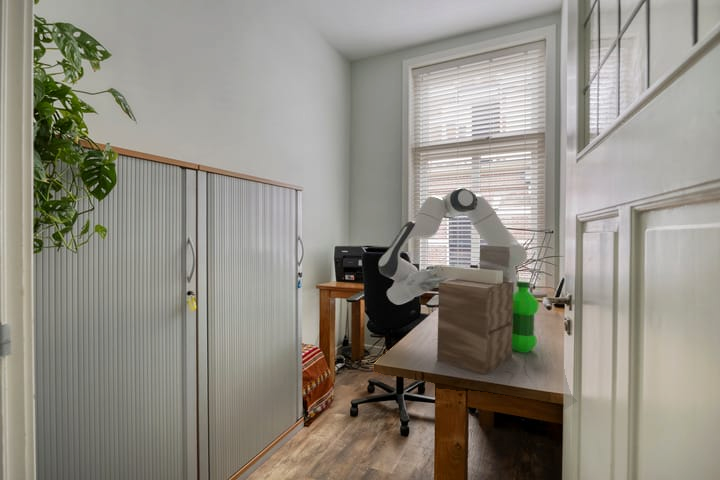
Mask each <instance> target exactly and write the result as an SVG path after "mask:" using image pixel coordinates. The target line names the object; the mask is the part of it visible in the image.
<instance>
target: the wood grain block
mask: <svg viewBox="0 0 720 480" xmlns="http://www.w3.org/2000/svg"><path fill="white" fill-rule="evenodd" d="M478 267H479V268H478V269H489V270H499V271H503V283H499V284H492V283H484V282H476V281H468V280H460V279H449V280H448V279H447V280H445V281H443V282H439V284H438V301H437V303H438V304H437V305H438V306H437V309H438V311H437V349H436V352H437V353H436V357H437V358H436V361H437V362H439V363H444V364H447V365H450V366H453V367H457V368H460V369H463V370H466V371H469V372H473V373H476V374H479V375H483V376H485V375H487V374H488V373H489V372H491V371H493V370H494V369H496V368H497V367H499V366H500V365H502V364H503V363H505V362H507V361H508V360H510V359H511V358H512V356H513V348H512V331H513V293H514V282H513V281H509V270H510V246H488V245H485V244H484V245H479V265H478Z"/></svg>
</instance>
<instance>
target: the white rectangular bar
mask: <svg viewBox="0 0 720 480" xmlns="http://www.w3.org/2000/svg"><path fill="white" fill-rule="evenodd" d="M437 267H442V269H443V271H441V272H439V273H437V274H435V276H437V277H445V278H448V279H452V280H454V279H460V280H468V281H476V282H484V283H492V284H499V283H503V271H499V270H489V269H479V268H477V267H467V266H465V267H464V266H456V265H454V266H451V265H447V264H446V265H445V264H437V265H436V264H435V265H434V269H435V268H437Z"/></svg>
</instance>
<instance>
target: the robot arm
mask: <svg viewBox="0 0 720 480" xmlns="http://www.w3.org/2000/svg"><path fill="white" fill-rule="evenodd" d="M463 214H464V215H465V216H467V218H468V219H469V222H471V224H472V225H473V227H474V229H475V231H476V232H477V233H478V235H479V237H480V238H481V240H483V242H485V243H486V245H487V246H510V270H509V281H513V282H514V293H516V292H517V291H518V287H517V281H520V279H519V276H518V274H517V270H516V269H517V267H519V266H522V265H523V264H525V262H526V260H527V257H528V253H527V249H526V248H525V247H524V245H522V244H521V243H520V242H519V241H518V240H517V239H516V237H515V236H514V235H513V234H512V232H510V231H509V229H507V227H506V226H505V225H504V224H503V222H502V220H501V219H500V216H499V215H498V214H497V212H496V210H494V208H493V207H492V205H491V204H490V203H489V201H488V200H486V198H485V197H484V196H482V195H481V194H476V193H474V192H473V191H472V190H470V189H469V188H466V187H458V188H456V189H454V190H451V191H450V192H448V193H447V194H446V195H444V196H443V197H439V196H436V195H431V196H428V197H427V198H426V199H425V201H424V202H423V203H422V205H421V206H420V208H419V210H418V212H417V214H416V217H414V219H413V220H412V221H407V222H406V223H405V224H404V225H403V226H402V228H401V229H400V231H399V232H398V233H397V235H396V236H395V238H394V239H393V241H392V242H391V244H390V245H389V247H388V249H387V250H386V251H385V252H384V253H383V254H382V256H380V258H379V259H378V262H377V264H378V270H379V273H380V275H382V276H384V277H387V278H389V279H392V280H393V281H394V282H393V283H392V285H391V287H390V288H388V289H387V291H386V296H387V298H388V300H389V301H390V303H392V304H394V305H398V306H399V305H404V304H405V303H408V302H410V301H413V300H414V298H415V297H416V298H417V297H419V296H422V295H424V294H425V293H426V294H427V293H428V292H429V291H432V290H433V289H435V288H437V287H438V286H439V282H443V281H447V280H448V279H449V278H445V277H437V276H435V274H437V273H439V272H441V271H443V269H442V267H437V268H435V267H434V268H432V269H424V270H419V269H418V268H417V266H415V265H413V264H412V263H411V262H409V261H407V260H406V259H404V258H402V257H401V254H402V251H403V250H404V248H406V247H405V246H406V245H407V244H408V242H409V241H410V239H412V238H416V239H430V238H432V237H433V236H435V235H436V234H437V232H438V231H439V228H440V226H441V223H442V222H443V219H444V218H445V219H453V218H455V217H456V218H457V217H459V216H461V215H463ZM450 266H455V265H454V264H452V265H451V264H450ZM514 293H513V294H514Z"/></svg>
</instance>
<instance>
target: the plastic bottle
mask: <svg viewBox="0 0 720 480" xmlns="http://www.w3.org/2000/svg"><path fill="white" fill-rule="evenodd" d="M517 287H518V291H517V292H516V293H514V294H513V331H512V350H514V351H515V352H518V353H525V354H526V353H529V352H531V351H532V350H533V349H534V348H535V347H536V345H537V343H538V342H537V337H536V335H535V314H536V313H537V312H538V311H539V305H540V303H539V301H538V299H537V298H536V297H535V296H534V295H533V294H532V293H530V291H529V288H531V287H530V281H527V280H526V281H524V280H519V281H517Z"/></svg>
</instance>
